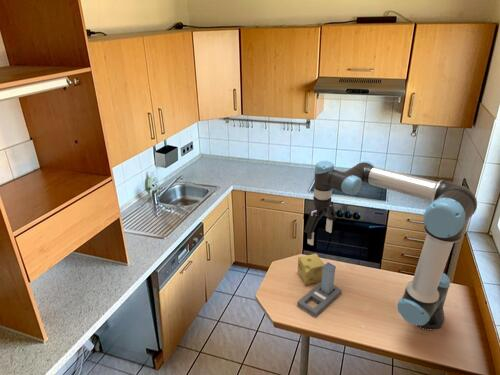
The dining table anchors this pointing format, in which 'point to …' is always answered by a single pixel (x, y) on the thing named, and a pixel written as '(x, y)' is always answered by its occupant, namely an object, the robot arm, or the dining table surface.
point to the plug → (328, 278)
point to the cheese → (310, 268)
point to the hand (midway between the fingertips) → (319, 237)
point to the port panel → (318, 300)
